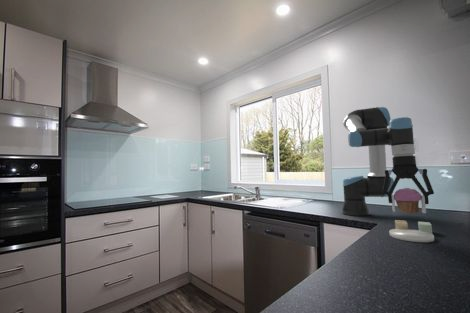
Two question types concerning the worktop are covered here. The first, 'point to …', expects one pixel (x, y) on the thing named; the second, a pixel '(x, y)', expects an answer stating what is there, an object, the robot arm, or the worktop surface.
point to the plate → (411, 235)
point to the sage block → (425, 227)
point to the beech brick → (401, 224)
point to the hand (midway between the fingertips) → (408, 212)
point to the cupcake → (407, 200)
